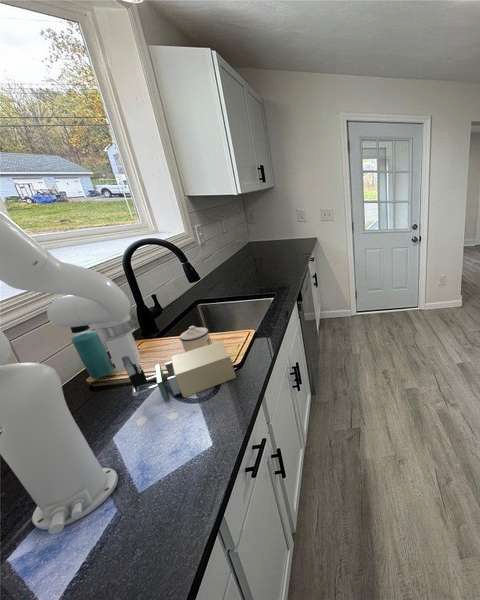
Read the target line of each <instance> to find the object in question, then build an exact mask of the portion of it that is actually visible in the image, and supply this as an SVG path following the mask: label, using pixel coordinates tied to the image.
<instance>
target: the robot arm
mask: <svg viewBox="0 0 480 600" xmlns="http://www.w3.org/2000/svg"><path fill="white" fill-rule="evenodd" d="M0 281H1V282H2V283H3V284H5V285H7V286H8V287H10V288H13V289H15V290H16V289H17V290H20V291H25V292H26V291H27V292H33V293H42V294H51V295H52V294H53V295H62V296H60V297H58V298H56V299H54V300H52V302H50V304H49V305H48V307H47V310H46V316H47V319H48V320H49V321H50V323H52V324H53V325H55V326H57V327H60V328H70V327H78V326H85V325H88V326H91V325H92V326H93V328H94V329H95V332H97V334H98V336H99V338H100V340H101V341H105V344H106V347H107V351H108V354H109V356H110V359H111V361H112V363H113V366H114V368H115V369H116V372H117V373H119V374H121V373H122V372H124V370H125V371H126V373H127V376H128V379H129V380H130V383H131V385H133V387H138V386H139V387H140V386H144V385H147V384H148V381H147V376H146V374H145V372H144V370H143V369H142V365H141V356H140V355H141V354H140V350H139V348H138V345H137V342H136V340H135V337H134V336H133V335H134V334H133V333H134V332H135V330H136V327H135V324H134V322H133V320H132V318H131V315H130V312H131V308H132V307H131V306H132V305H131V301H130V299H129V297H128V296H127V295H126V293H125V292H124V290H122V288H121V287H120V286H118V285H117V284H116V283H115V282H114V281H113V280H112V279H111V278H109V277H107V276H106V275H105V274H102V273H101V272H98V271H95V270H92V269H90V268H88V267H84V266H82V265H78V264H75V263H72V262H69V261H65V260H62V259H59V258H57V257H55V256H54V255H53V254H52V253H51V252H49V251H48V249H46V248H44V247H43V246H42V245H41V244H40V243H38V241H36V240H35V239H34V238H33V237H31V235H29V234H28V233H27V232H26V231H25V230H23V229H22V228H21V227H20V226H19V225H17V224H16V223H15V222H14V221H13V220H12V219H10V218H9V217H8V216H7V215H5V214H4V213H3V212H1V211H0ZM11 353H12V346H11V342H10V340H9V338H8V337H7V336H6V335H5V333H4V332H3V331H2V330H1V329H0V426H1V429H2V430H1V433H0V456H1V457H2V459H3V460H4V462H6V464H7V465H8V466H9V468H10V469H11V471H12V472H13V473H14V475H15V477H17V479H18V481H20V484H21V485H22V486H23V488H24V489H25V490H26V491H27V493H28V494H29V496H30V497H31V498H32V500H33V501H34V503H35V504H36V505H37V506H36V508H35V510H33V514H32V516H31V521H32V523H33V525H34V526H35V527H36V528H37V529H39V530H43V531H45V530H46V531H48V534H50V535H56V534H59V533H60V532H62V531H63V530H64V528H65V526H67V525H69V524H72V523H74V522H76V521H78V520H80V519H82V518H84V517H85V516H87V515H88V514H90V513H91V512H93V511H94V510H95V509H97V508H98V507H99V506H100V505H101V504H103V503H104V502H105V501H106V500H107V499H108V498H109V497H110V496H111V495H112V493H113V492H114V491H115V488H116V487H117V485H118V483H119V476H118V473H117V471H116V470H115V469H113V468H110V467H102V466H101V465H100V463H99V460H98V459H97V457H96V456H95V454H94V452H93V450H92V449H91V447H90V445H89V443H88V441H87V439H86V438H85V436H84V434H83V433H82V431H81V429H80V427H79V426H78V423H77V422H76V420H75V419H74V417H73V414H72V413H71V411H70V409H69V407H68V405H67V402H66V399H65V395H64V390H63V386H62V381H61V378H60V376H59V373H58V372H57V371H56V369H54V368H53V367H52V366H49V365H47V364H44V363H40V362H17V363H10V364H4V363H6V361H7V360H8V359H9V357H10V356H11ZM2 364H3V365H2Z"/></svg>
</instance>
